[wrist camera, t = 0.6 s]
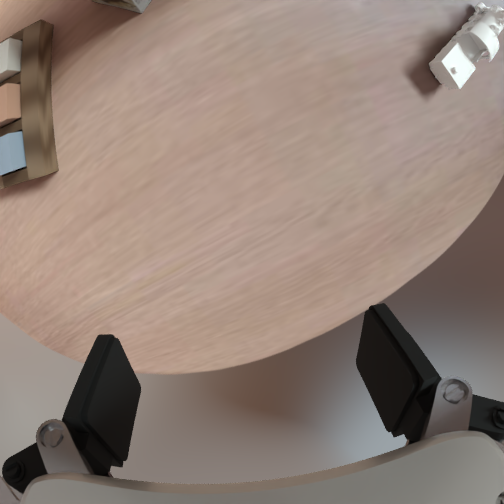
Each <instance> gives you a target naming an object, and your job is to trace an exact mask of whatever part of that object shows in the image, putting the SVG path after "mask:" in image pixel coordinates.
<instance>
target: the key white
mask: <svg viewBox="0 0 504 504" xmlns="http://www.w3.org/2000/svg"><path fill="white" fill-rule="evenodd" d="M22 43H23V41H20V40H16V39H13V38H8V39H7V40H5V41H4V42H2V43H0V83H2V82H3V81H5V80H7V79H9V78H10V77H12V76H14V75H16V74H18V73H20V72H21V55H22Z"/></svg>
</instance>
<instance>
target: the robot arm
mask: <svg viewBox="0 0 504 504" xmlns="http://www.w3.org/2000/svg"><path fill="white" fill-rule="evenodd" d="M356 365H357V368H358V370H359V372H360V375H361V377H362V379H363V381H364V383H365V385H366V387H367V389H368V391H369V393H370V396H371V398H372V400H373V402H374V404H375V406H376V408H377V410H378V413H379V415H380V417H381V419H382V422H383V424H384V426H385V428H386V430H387V431H388V432H391V433H392V435H393V437H397V436H399V435H402V434H404V435H405V437H406V439H407V442H406V445H405V446H404V447H402V448H399V449H396V450H393V451H390V452H387V453H384V454H382V455H378V456H376V457H372V458H369V459H366V460H362V461H359V462H355V463H352V464H348V465H344V466H340V467H337V468H332V469H328V470H324V471H319V472H314V473H309V474H304V475H299V476H293V477H287V478H280V479H273V480H264V481H255V482H243V483H228V484H171V483H155V482H144V481H135V480H134V481H133V480H126V479H118V478H113V476H112V474H111V473H110V468H111V466H117V467H123V461H126V460H127V457H128V452H129V447H130V441H131V436H132V431H133V426H134V421H135V416H136V411H137V407H138V402H139V398H140V393H141V386H140V383H139V381H138V379H137V377H136V375H135V373H134V371H133V369H132V367H131V365H130V363H129V361H128V359H127V356H126V354H125V352H124V350H123V348H122V345H121V343H120V341H119V339H118V338H115V337H114V335H112V334H108V335H98V336H97V338H96V340H95V342H94V344H93V347H92V349H91V351H90V353H89V355H88V357H87V360H86V362H85V364H84V366H83V369H82V371H81V373H80V375H79V378H78V380H77V383H76V385H75V387H74V390H73V392H72V395H71V397H70V399H69V402H68V405H67V407H66V410H65V412H64V415H63V418H62V421H60V420H57V419H51V420H48V421H45V422H44V423H42V424H41V426H40V427H39V428H38V430H37V433H36V443H34V444H33V445H31V446H29V447H27V448H26V449H24V450H22V451H20V452H19V453H17V454H15V455H13V456H11V457H10V458H8V459H7V460H6V461H5V463H4V465H3V468H2V474H3V477H1V476H0V504H504V402H500V401H496V400H492V399H488V398H485V397H481V396H477V395H473V394H472V388H471V386H470V384H469V383H468V382H467V381H466V380H464V379H463V378H461V377H458V376H448V377H445V378H443V379H441V377H440V376H439V374H438V373H437V371H436V370H435V368H434V367H433V365H432V364H431V363H430V361H429V360H428V359H427V357H426V356H425V355H424V353H423V352H422V350H421V349H420V347H419V346H418V345H417V343H416V342H415V341H414V339H413V338H412V337H411V335H410V334H409V333H408V332H407V331H406V330H405V329H404V327H403V326H402V325H401V323H400V322H399V321H398V320H397V318H396V317H395V316H394V314H393V313H392V312H391V311H390V309H389V308H388V307H387V305H386V304H384V303H382V304H377V305H372V306H370V307H369V310H367V311H366V312H365V315H364V322H363V327H362V332H361V338H360V343H359V349H358V353H357V358H356Z"/></svg>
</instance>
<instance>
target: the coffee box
mask: <svg viewBox="0 0 504 504" xmlns="http://www.w3.org/2000/svg"><path fill="white" fill-rule="evenodd" d="M92 1H93V2H97V3H102V4H106V5H111V6H115V7H119V8H123V9H127V10H131V11H134V12H138V13H143V12H144V10H145V9H146V7H147V6H148V5H149V3H150V2H151V1H152V0H92Z"/></svg>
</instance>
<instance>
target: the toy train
mask: <svg viewBox="0 0 504 504" xmlns="http://www.w3.org/2000/svg"><path fill="white" fill-rule="evenodd" d="M475 11H476V12H474V13H473V14H474V15H473V16H471V17H470V18H469V19H468V20H469V22H467V23H465V24H464V25H463V26H462V29H461V30H459V31H457V32H456V35H454V36H453V37H452V38H451V39H452V40H450V41H449V42H448V44H447V45H446V46H445V47H443V48H442V49H441V51H440V53H438V54H437V55H436V56H435V58H434V59H433V60H432V61H430V63H429V67H430V70H431V71H432V72H433V74H434V75H435V78H437V79H438V81H439V82H440V84H445V85H446V87H447V88H448V89H461V87H462V86H463V85H464V83H465V82H466V81H467V79H468V78H469V77H470V75H471V74H472V73H473V71H474V70H475V69H476V68H475V66H474V65H473V63H472V62H478V60H479V59H489V62H491V60H492V59H493V57H494V56H495V54H496V53H497V51H498V49H499V42H498V39H497V36H498V35H499V33H500V32H501V30H502V29H503V28H504V10H503V9H502V8H501V7H499V6H497V5H492V6H491V7H490V8H489V7H486V6H485V5H484V4H483V3H482V2H479V3H478V4H477V5H476V6H475ZM484 52H489V54H488V55H486V56H482V55H483V53H484Z"/></svg>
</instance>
